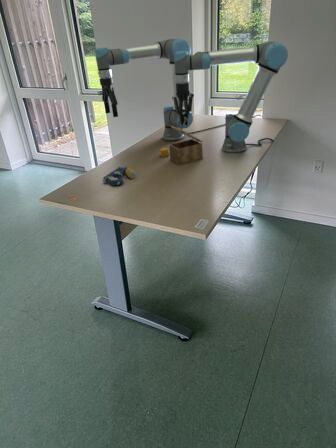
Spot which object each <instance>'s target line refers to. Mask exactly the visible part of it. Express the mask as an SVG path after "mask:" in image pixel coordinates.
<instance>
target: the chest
mask: <svg viewBox="0 0 336 448" xmlns="http://www.w3.org/2000/svg"><path fill="white" fill-rule="evenodd" d="M168 147H169V159H170V160H171V161H172V162H173V163H174V164H177V165H178V166H180V165H183V164H187V163H192V162H196V161H199V160H202V159H203V157H204V156H203V142H202V143H200V142H198V141H196V140H194V139H192V138H190V139H188V140H186V139H185V140H182V141H178V142H174V143H169V144H168Z"/></svg>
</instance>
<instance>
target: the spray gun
mask: <svg viewBox="0 0 336 448" xmlns="http://www.w3.org/2000/svg"><path fill="white" fill-rule="evenodd" d="M124 175H125V176H126V177H128V178H129V179H131V180H132V179H135V177H136V172H135V171H133V170H132V169H131V168H128V167H127V165H124V166H117V167H116V168H115V169H113V170H112V171H111V172H108V174H106V175H105V176H104V177H103V179H102V182H103V183H105V184H109V185H111V186H113V187H114V186H115V187H116V186H120V185H122V184H123V183H124V181H125V178H124Z"/></svg>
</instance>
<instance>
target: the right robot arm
mask: <svg viewBox="0 0 336 448" xmlns="http://www.w3.org/2000/svg"><path fill="white" fill-rule="evenodd" d="M288 51H289V50H288V48H287V47H286V46H285V45H284V44H283V43H282V42H278V41H267V42H264V43H258V44H254V45H253V46H249V47H238V48H237V47H236V48H227V49H218V50H217V49H216V50H208V51H197V52H195V53H194V54H190V55H188V52H187V51H180V52H176V53H175V54H174V63H175V80H176V95H175V96H174V95H173V96H172V97H171V99H172V100H173V105H175V110H176V113H177V114H179V118H180V120H181V125H183V123H184V121H185V120H184V117H187V118H189V115H188V114H189V112H191V113H192V109H193V100H194V96H195V95H194V93H191V91H190V71H204V70H210V69H211V66H212V67H213V66H221V65H232V64H233V65H234V64H244V63H253V64H255V65H257V71H256V74H255V76H254V78H253V80H252V82H251V84H250V86H249V89H248V91H247V92H246V95H245V97H244V100H243V101H242V102H241V105H240V107H239V110H238V111H236V112H228V113H226V114H225V118H224V119H225V123H224V124H225V125H224V126H225V128H224V129H225V130H224V131H225V134H224V135H225V136H224V141H223V143H222V146H221V147H222V148H221V149H222V151H223V152H226V153H232V154H236V153H237V154H238V153H242V152H244V151H246V150H247V146H257V147H259V146H262V143H263V142H261V141H266V140H267V141H268V140H269V141H271V142H274V139H272V138H270V137H265V138H260V139H258V140H257V143H246V139H247V138H248V137H249V134H250V128H251V127H252V124H253V122H254V120H253V118H254V117H253V116H255V115H254V114H255V112H256V111H257V109H258V106H259V105H260V103H261V100H262V99H263V97H264V94H266V93H265V92H266V90H267V89H268V87H269V85H270V84H271V80H272V79H273V77H274V76H276V75H278V73H279V71H280V70H281V68H282V67H283V66H284V65H285V64H286V62H287V61H288V55H289V52H288ZM177 97H178V99H179V106H178V101H177ZM183 101H184V108H185V113H184V114H183ZM184 125H188V120H186V122H185V124H184Z"/></svg>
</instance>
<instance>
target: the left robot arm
mask: <svg viewBox="0 0 336 448" xmlns="http://www.w3.org/2000/svg"><path fill="white" fill-rule="evenodd" d="M180 51H187V52H188V55H191V52H192V51H191V45H190V44H189V42H188V41H186V39H182V38H169V39H164V40H161V41H155V42H154V43H153V44H144V45H135V46H127V47H119V48H108V47H97V48H95V50H94V57H95V62H96V66H97V75H98V78H99V84H100V86H101V101H102V102H103V105H104V110H105V114H110V113H111V111H112V115H113V116H112V117H113V118H118V117H119V113H118V105H119V104H118V100H117V97H116V93H115V89H114V87H112V86H113V85H114V80H113V73H112V66H117V65H125V64H128V63H130V62H131V61H139V60H146V59H154V58H156V59H157V60H159V59H163V60H165V59H166V60H168V61H169V62H168V63H169V65H170V66H171V70H172V86H173V87H172V88H173V97H174V96H175V95H176V80H175V63H174V54H175V53H176V52H180ZM177 101H178V106H179V99H178V97H177ZM109 102H110V103H111V104H110V103H109ZM110 105H111V106H110ZM110 107H111V109H110ZM184 113H185V108H184V101H183V114H184ZM188 115H189V118H188V125H184V126H183V129H184V130H185V129H188V128H190V126H191V125H192V124H193V121H194V115H193V113H192V111H191V112H189V114H188ZM256 117H262V115H261V114H256V115H253V117H252V118H256ZM179 120H180V118H179V114H177V113H176V110H175V105H174V104H173V105H166V106H165V107H163V122H164V130H163V135H162V139H163V140H164V141H167V142H176V141H180V140H182V139H184V137H185V135H184V134H182V133H181V132H179V131H177V130H175V129H173V128H171V126H174V127H176V126H177V124H178V122H179ZM222 126H225V123H222V124H220V125H215V126H213V127H208V128H205V129H200V130H196V131H192V132H187V133H188V134H190V135H192V134H195V133H200V132H204V131H207V130H212V129H215V128H218V127H222ZM181 127H182V125H181V122H180V124H179V126H178V128H179V129H181ZM183 129H182V130H183Z"/></svg>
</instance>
